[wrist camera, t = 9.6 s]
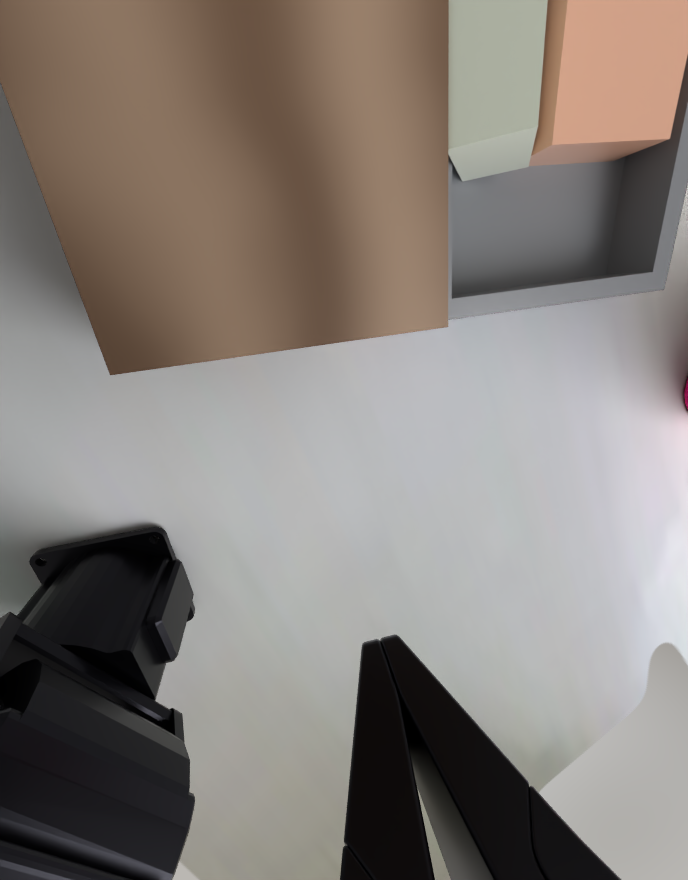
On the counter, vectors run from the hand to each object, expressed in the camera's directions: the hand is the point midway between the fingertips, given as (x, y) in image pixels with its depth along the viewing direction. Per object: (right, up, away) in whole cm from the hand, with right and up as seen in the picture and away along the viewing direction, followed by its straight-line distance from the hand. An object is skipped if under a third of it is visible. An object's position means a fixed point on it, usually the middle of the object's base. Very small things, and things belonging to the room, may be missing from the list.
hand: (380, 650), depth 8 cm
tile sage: (+3, +17, +4) cm, 18 cm away
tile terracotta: (+9, +18, +4) cm, 21 cm away
